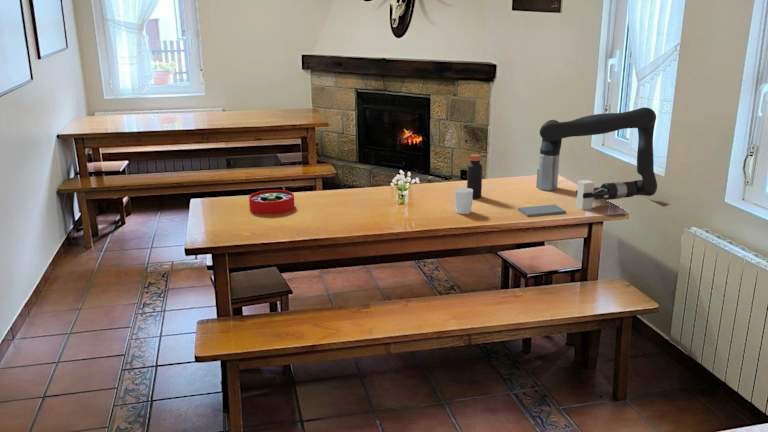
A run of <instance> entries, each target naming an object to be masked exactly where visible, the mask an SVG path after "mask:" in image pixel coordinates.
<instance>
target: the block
mask: <svg viewBox="0 0 768 432" xmlns="http://www.w3.org/2000/svg"><path fill="white" fill-rule="evenodd" d="M594 187H595V182H594V181H592V180H590V179H583V180H578V181H577V189H576V190H577V195H576V201H575V202H576V203H575V206H576V208H578V209H579V210H581V211H583V210H584V211H585V210H592V209H593V204H594V203H593V202H594V198H583V193H592V192H594Z"/></svg>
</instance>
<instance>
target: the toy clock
mask: <svg viewBox="0 0 768 432" xmlns="http://www.w3.org/2000/svg"><path fill="white" fill-rule="evenodd" d="M248 201H249V202H248V203H249V211H250V212H251V211H252V213H253V212H254V213H253V214H257V213H258V214H257V215H264V214H272V215H281V214H286V213H287V212H291V211H293V210H294V209H295V195H294V193H293V192H292V191H289V190H284V189H283V190H282V189H269V190H268V189H267V190H260V191H257V192H253V193H251V194H250V195H249V196H248Z"/></svg>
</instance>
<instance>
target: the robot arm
mask: <svg viewBox="0 0 768 432" xmlns="http://www.w3.org/2000/svg"><path fill="white" fill-rule="evenodd" d="M656 121H657V114H656V112H655V111H654V109H652V108H650V107H640V108H637V109H634V110H630V111H623V112H608V113H597V114H591V115H585V116H581V117H579V118H576V119H573V120H569V121H558V120H556V119H550V120H549V119H548V120H547V121H546V122H544V123H543V124H542V125H541V127H540V128H539V135H540V137H541V138H542V139H541V145H540V149H539V163H538V168H537V172H536V184H535V185H536V186H535V187H536V188H537V189H539V190H542V191H556V190H557V189H558V183H559V171H560V170H559V169H560V167H559V166H560V155H561V147H562V140H563V139H565V138H571V137H573V138H574V137H585V136H587V137H588V136H597V135H604V134H609V133H611V132H616V131H620V130H624V129H625V130H626V129H637V133H638V142H637V143H638V144H637V150H636V151H637V152H636V153H637V154H636V172H637V174H639V175H640V176H641V179H637V180H632V181H621V182H619V181H617V182H615V181H613V182H605V183H604V182H603V184H601V185H600V187H599V186H594V192H592V193H583V198H593V199H595V200H604V201H610V200H620V199H624V198H632V197H634V196H645V197H646V196H647V197H650V196H651V197H652V196H653V195H655V194H656V192H657V190H658V181H657V179H656V174H655V172H654V171H655V169H654V132H655V131H654V130H655V126H656V125H655V124H656ZM575 194H576V196H577V189H576V191H575Z"/></svg>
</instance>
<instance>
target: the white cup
mask: <svg viewBox="0 0 768 432" xmlns="http://www.w3.org/2000/svg"><path fill="white" fill-rule="evenodd" d="M472 197H473V190H472V189H470V188H467V187H458V188H455V189H454V205H455V213H456V214H460V215H468V214H470V213H472V206H473V198H472Z"/></svg>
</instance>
